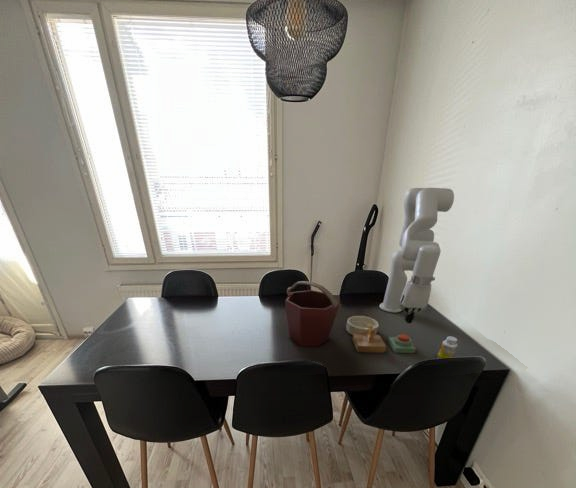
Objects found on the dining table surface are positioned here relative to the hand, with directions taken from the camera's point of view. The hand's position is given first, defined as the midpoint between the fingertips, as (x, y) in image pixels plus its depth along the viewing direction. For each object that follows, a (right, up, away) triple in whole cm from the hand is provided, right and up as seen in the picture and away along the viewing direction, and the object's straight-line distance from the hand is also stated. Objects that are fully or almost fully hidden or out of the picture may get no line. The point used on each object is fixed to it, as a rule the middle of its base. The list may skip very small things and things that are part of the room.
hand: (408, 321), depth 125 cm
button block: (0, -10, +6) cm, 12 cm away
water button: (0, -7, +4) cm, 9 cm away
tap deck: (-16, -9, +7) cm, 19 cm away
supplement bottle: (+15, -16, -1) cm, 22 cm away
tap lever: (-15, -6, +6) cm, 18 cm away
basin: (-16, -2, +17) cm, 24 cm away
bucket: (-42, -6, +11) cm, 43 cm away
